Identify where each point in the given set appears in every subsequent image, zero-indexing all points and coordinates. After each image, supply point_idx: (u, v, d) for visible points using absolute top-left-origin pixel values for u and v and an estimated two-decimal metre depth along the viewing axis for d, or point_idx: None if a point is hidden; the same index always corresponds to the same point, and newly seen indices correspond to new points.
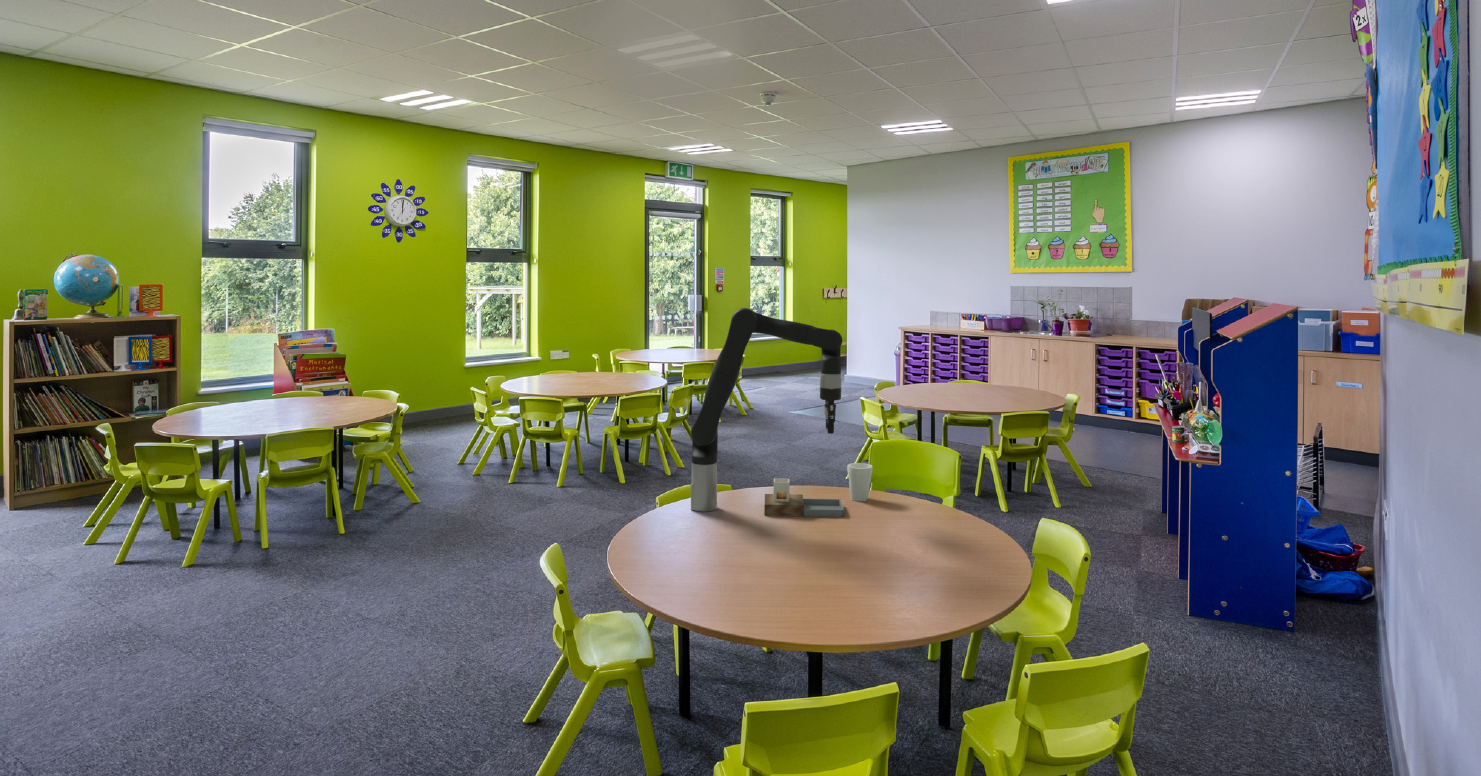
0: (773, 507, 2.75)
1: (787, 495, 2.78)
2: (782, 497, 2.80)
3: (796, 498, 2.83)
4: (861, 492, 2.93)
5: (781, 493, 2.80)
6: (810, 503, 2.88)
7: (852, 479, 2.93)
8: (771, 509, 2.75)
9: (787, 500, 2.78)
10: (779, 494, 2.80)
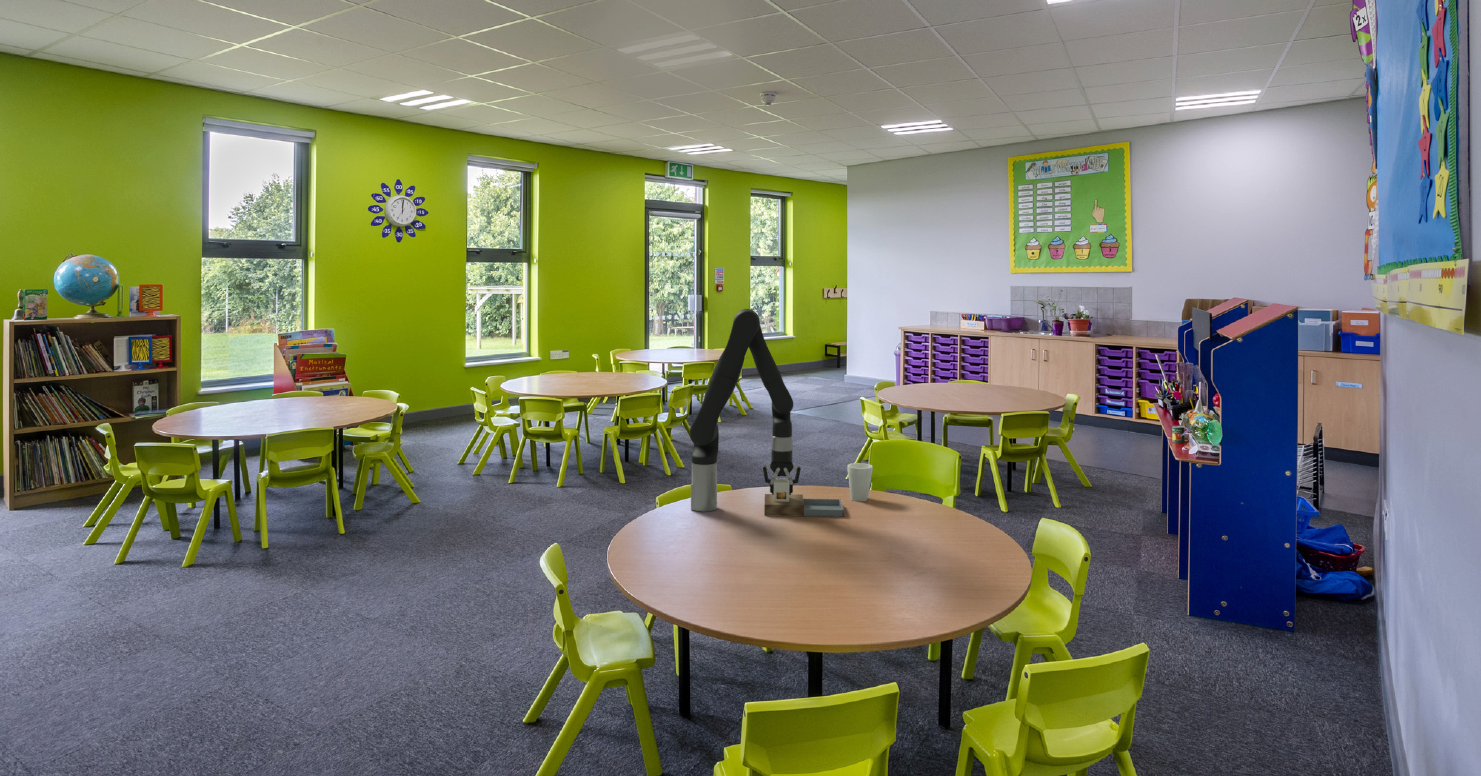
0: (773, 507, 2.75)
1: (787, 495, 2.78)
2: (782, 497, 2.80)
3: (796, 498, 2.83)
4: (861, 492, 2.93)
5: (781, 493, 2.80)
6: (810, 503, 2.88)
7: (852, 479, 2.93)
8: (771, 509, 2.75)
9: (787, 500, 2.78)
10: (779, 494, 2.80)
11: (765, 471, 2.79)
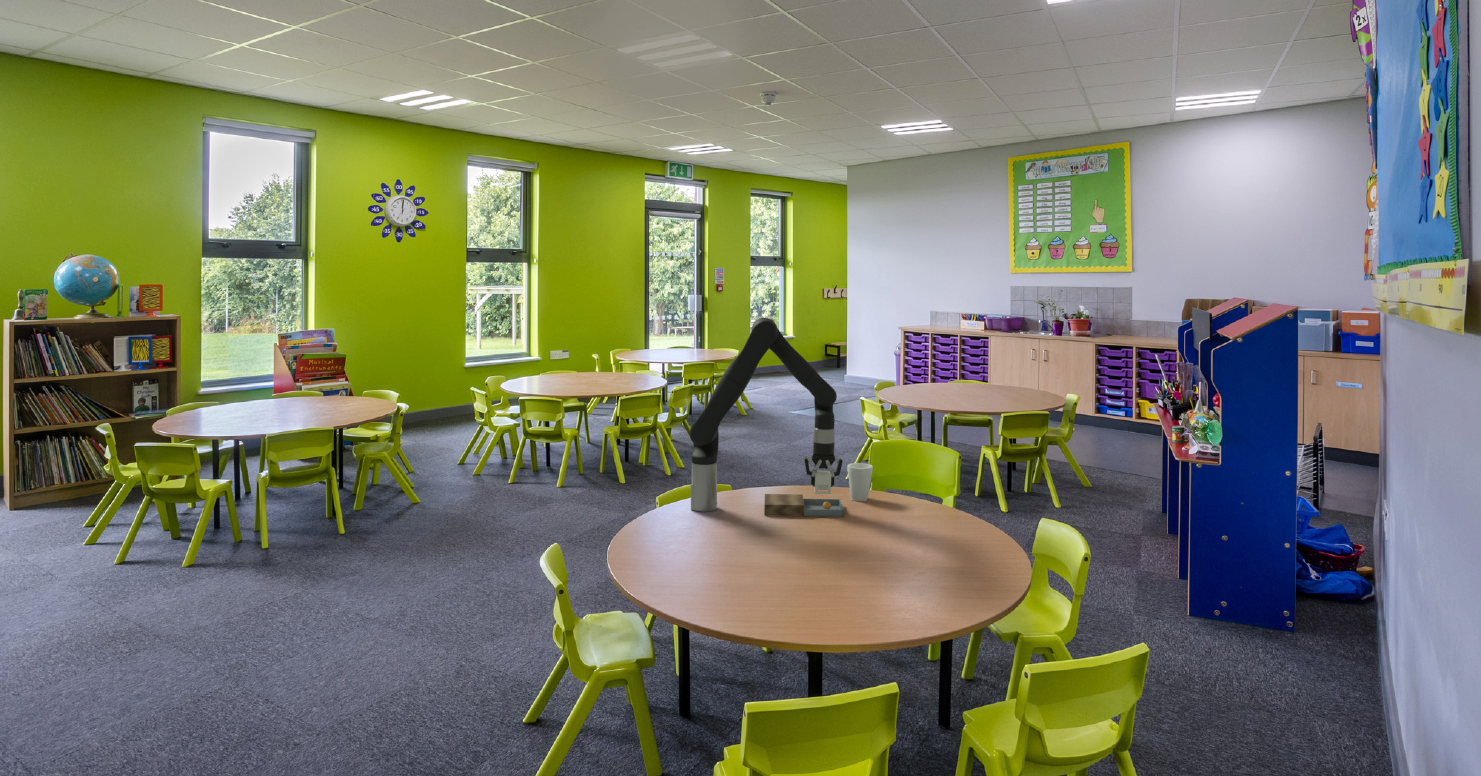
0: (773, 507, 2.75)
1: (829, 487, 2.77)
2: (829, 506, 2.80)
3: (796, 498, 2.83)
4: (861, 492, 2.93)
5: (824, 505, 2.80)
6: (810, 503, 2.88)
7: (852, 479, 2.93)
8: (771, 509, 2.75)
9: (828, 492, 2.78)
10: (824, 507, 2.80)
11: (807, 463, 2.78)
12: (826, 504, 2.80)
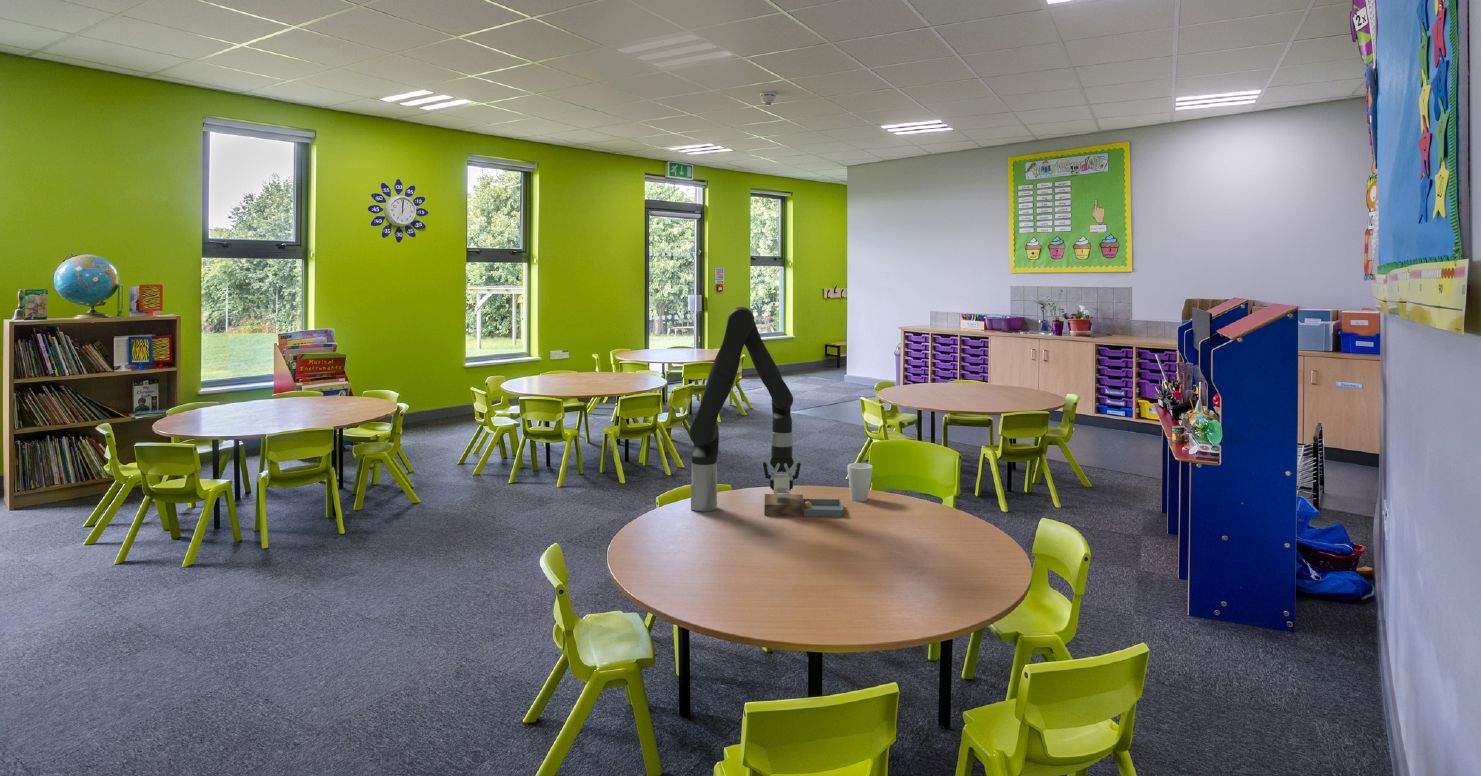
0: (773, 507, 2.75)
1: (787, 491, 2.78)
2: (808, 508, 2.80)
3: (796, 498, 2.83)
4: (861, 492, 2.93)
5: (809, 504, 2.80)
6: None
7: (852, 479, 2.93)
8: (771, 509, 2.75)
9: (787, 496, 2.78)
10: (807, 503, 2.80)
11: (765, 467, 2.79)
12: (810, 506, 2.80)
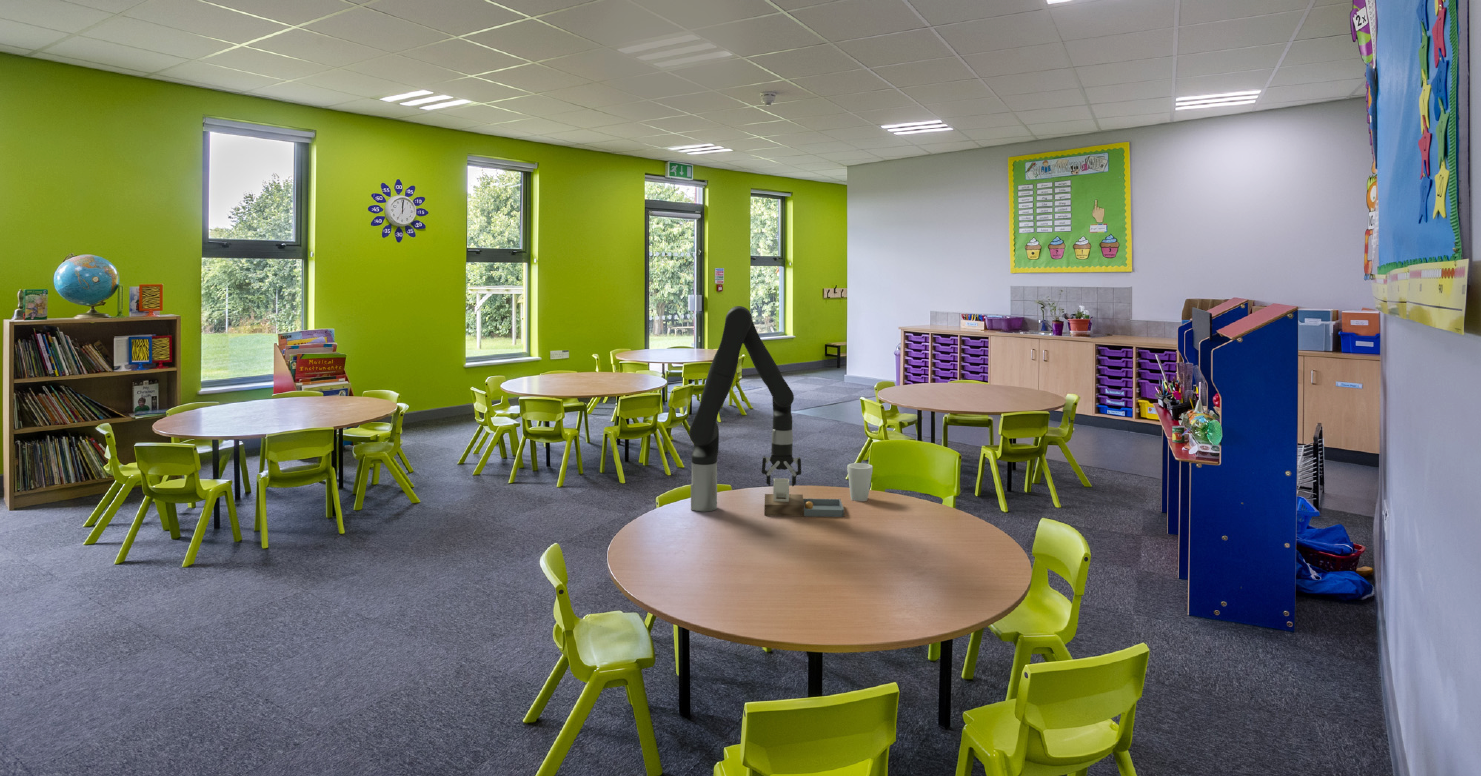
0: (773, 507, 2.75)
1: (787, 495, 2.78)
2: (808, 508, 2.80)
3: (796, 498, 2.83)
4: (861, 492, 2.93)
5: (811, 504, 2.80)
6: None
7: (852, 479, 2.93)
8: (771, 509, 2.75)
9: (787, 500, 2.78)
10: (809, 503, 2.80)
11: (764, 462, 2.79)
12: (811, 506, 2.80)
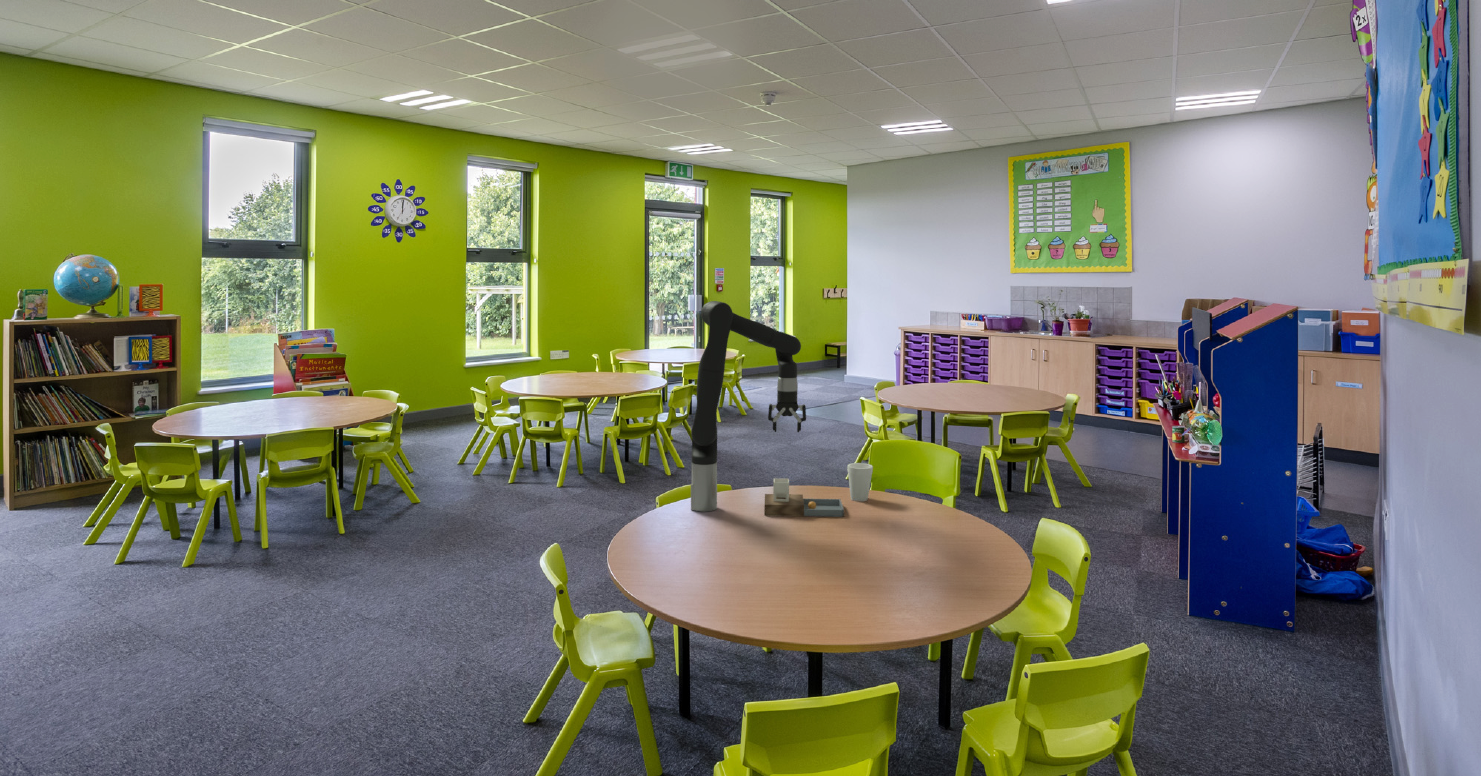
0: (773, 507, 2.75)
1: (787, 495, 2.78)
2: (810, 507, 2.80)
3: (796, 498, 2.83)
4: (861, 492, 2.93)
5: (815, 506, 2.80)
6: None
7: (852, 479, 2.93)
8: (771, 509, 2.75)
9: (787, 500, 2.78)
10: (814, 504, 2.80)
11: (770, 409, 2.91)
12: (813, 508, 2.80)
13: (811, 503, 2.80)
